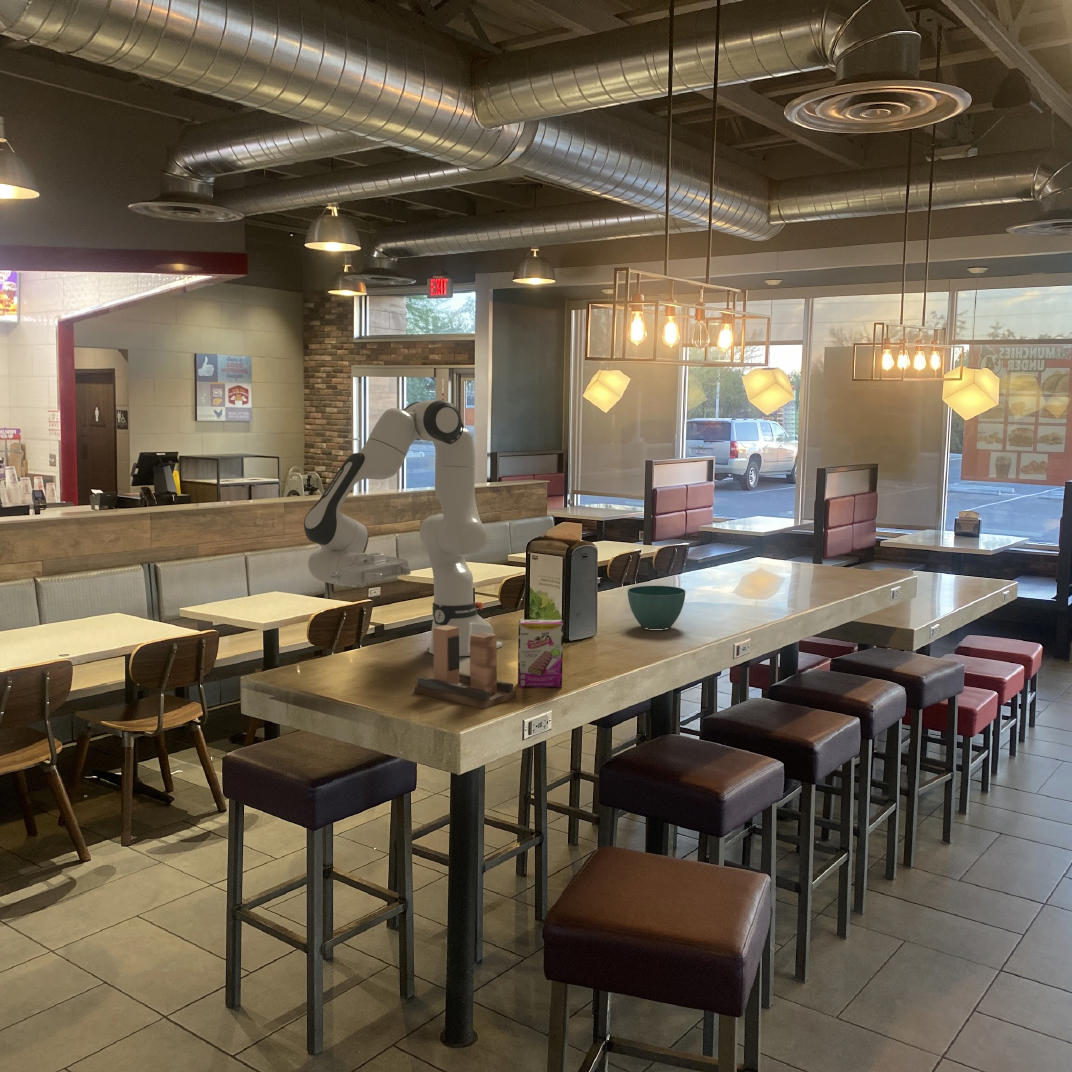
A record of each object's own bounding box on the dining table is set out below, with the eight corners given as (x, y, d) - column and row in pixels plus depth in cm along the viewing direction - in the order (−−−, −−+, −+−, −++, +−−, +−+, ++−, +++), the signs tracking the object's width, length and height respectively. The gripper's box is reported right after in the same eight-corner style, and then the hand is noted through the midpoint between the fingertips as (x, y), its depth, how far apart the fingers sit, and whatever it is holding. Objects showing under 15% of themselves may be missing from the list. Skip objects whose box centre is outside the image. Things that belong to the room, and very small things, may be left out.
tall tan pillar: (446, 680, 251) (445, 625, 250) (461, 684, 248) (460, 627, 247) (433, 684, 248) (433, 627, 246) (448, 687, 245) (448, 630, 243)
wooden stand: (448, 682, 256) (447, 622, 254) (516, 697, 243) (515, 633, 241) (414, 692, 247) (413, 629, 245) (483, 708, 233) (482, 642, 231)
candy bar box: (517, 688, 251) (517, 623, 249) (517, 683, 256) (517, 619, 254) (563, 688, 251) (563, 622, 249) (562, 683, 256) (562, 618, 254)
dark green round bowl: (666, 636, 310) (667, 597, 309) (616, 629, 321) (616, 591, 320) (695, 627, 325) (695, 589, 323) (645, 620, 336) (646, 583, 334)
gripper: (325, 563, 253) (363, 568, 245) (385, 552, 269) (422, 556, 261) (326, 588, 254) (364, 594, 246) (386, 575, 270) (423, 580, 262)
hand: (395, 574), depth 253 cm, fingers open, 8 cm apart
